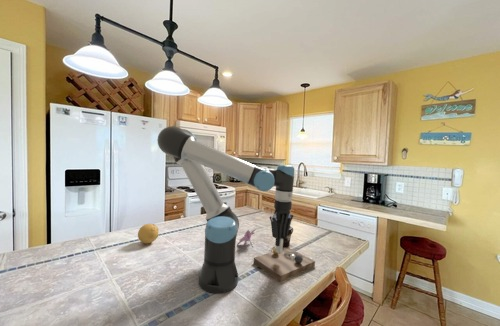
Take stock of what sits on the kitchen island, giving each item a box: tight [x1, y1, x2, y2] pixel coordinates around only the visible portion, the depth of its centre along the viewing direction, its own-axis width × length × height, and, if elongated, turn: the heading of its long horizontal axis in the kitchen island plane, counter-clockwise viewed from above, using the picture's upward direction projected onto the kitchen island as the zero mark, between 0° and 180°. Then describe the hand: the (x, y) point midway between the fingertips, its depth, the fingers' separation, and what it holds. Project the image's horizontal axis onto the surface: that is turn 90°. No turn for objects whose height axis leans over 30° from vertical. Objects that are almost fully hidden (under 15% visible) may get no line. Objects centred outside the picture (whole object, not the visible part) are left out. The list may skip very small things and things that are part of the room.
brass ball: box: [272, 246, 279, 255], centre depth 101 cm, size 3×3×3 cm
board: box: [253, 247, 316, 283], centre depth 97 cm, size 22×17×2 cm
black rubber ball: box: [295, 255, 302, 263], centre depth 94 cm, size 3×3×3 cm
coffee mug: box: [283, 225, 294, 248], centre depth 119 cm, size 12×9×10 cm
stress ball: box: [137, 223, 160, 245], centre depth 112 cm, size 10×10×10 cm
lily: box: [236, 229, 256, 248], centre depth 115 cm, size 12×12×10 cm
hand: (278, 252), depth 95 cm, fingers closed
